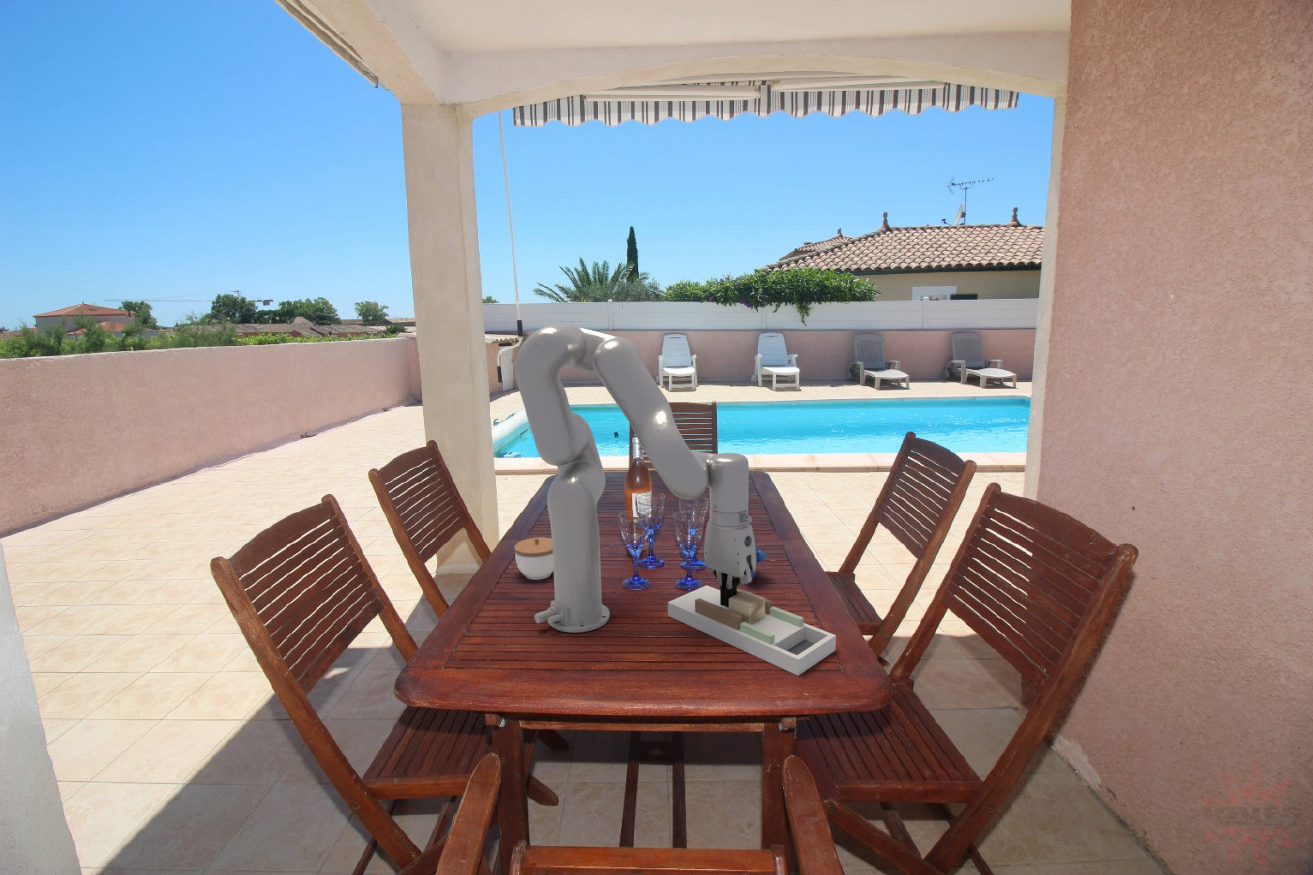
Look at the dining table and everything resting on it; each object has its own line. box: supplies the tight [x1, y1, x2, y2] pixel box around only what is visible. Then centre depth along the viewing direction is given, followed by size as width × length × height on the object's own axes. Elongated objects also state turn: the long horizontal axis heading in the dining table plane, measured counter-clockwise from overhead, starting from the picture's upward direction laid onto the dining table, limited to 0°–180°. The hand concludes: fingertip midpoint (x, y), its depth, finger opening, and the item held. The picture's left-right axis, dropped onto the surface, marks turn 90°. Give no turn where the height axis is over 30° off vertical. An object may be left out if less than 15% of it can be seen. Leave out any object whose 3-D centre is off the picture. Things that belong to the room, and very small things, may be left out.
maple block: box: [729, 590, 766, 625], centre depth 123 cm, size 5×5×4 cm
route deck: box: [667, 585, 837, 676], centre depth 124 cm, size 12×32×6 cm, turn 43°
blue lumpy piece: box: [751, 535, 768, 579], centre depth 148 cm, size 12×7×12 cm, turn 173°
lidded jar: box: [513, 537, 554, 581], centre depth 153 cm, size 11×11×9 cm
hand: (728, 604), depth 127 cm, fingers closed
